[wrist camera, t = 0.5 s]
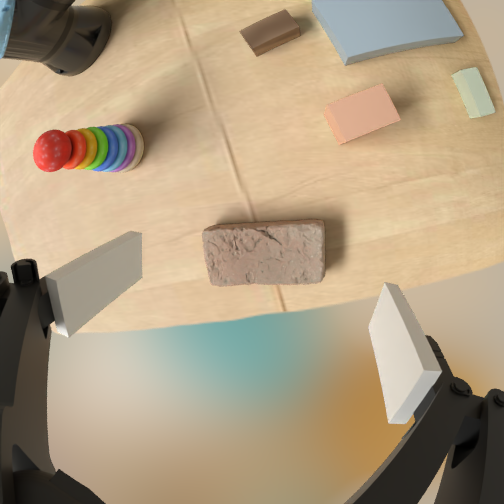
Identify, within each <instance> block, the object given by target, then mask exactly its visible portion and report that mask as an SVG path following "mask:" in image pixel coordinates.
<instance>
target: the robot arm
mask: <svg viewBox="0 0 504 504" xmlns="http://www.w3.org/2000/svg"><path fill="white" fill-rule="evenodd" d="M74 1H75V0H0V59H1V58H5V59H17V60H26V61H34V62H41V63H43V64H44V65H45V66H47V67H48V68H50V69H51V70H53V71H54V72H55V73H57V74H59V75H64V76H74V75H77V74H79V73H81V72H83V71H84V70H86V69H87V68H88V67H89V66H90V65H91V64H92V63H93V62H94V61H95V60H96V59H97V57H98V56H99V55H100V53H101V52H102V50H103V48H104V46H105V44H106V42H107V40H108V37H109V34H110V30H111V18H110V15H109V14H108V12H107V11H105V10H103V9H101V8H99V7H96V6H71V5H72V3H73V2H74ZM11 270H12V274H13V279H14V283H9V281H8V276H7V273H5V272H0V504H105V503H104V502H103V501H102V500H101V499H100V498H99V497H98V496H96V495H95V494H94V493H93V492H92V491H91V490H90V489H89V488H87V487H85V486H84V485H82V484H80V483H79V482H77V481H76V480H74V479H73V478H71V477H70V476H68V475H67V474H65V473H64V472H63V471H61V470H60V469H58V471H57V472H56V471H55V468H54V466H53V464H52V462H51V459H50V455H49V446H48V430H47V376H48V360H49V349H50V339H51V327H50V324H51V323H52V322H54V321H55V324H56V328H57V331H58V332H59V333H61V334H63V335H65V336H66V337H68V338H69V337H70V336H71V335H73V334H74V333H75V332H76V331H77V330H79V329H80V328H81V327H82V326H83V325H85V324H86V323H87V322H88V321H89V320H90V319H92V318H93V317H94V316H95V315H96V314H98V313H99V312H100V311H101V310H103V309H104V308H105V307H106V306H107V305H109V304H110V303H111V302H112V301H114V300H115V299H116V298H117V297H118V296H120V295H121V294H122V293H123V292H125V291H126V290H127V289H128V288H130V287H131V286H132V285H133V284H135V283H136V282H137V281H139V280H140V279H141V278H142V233H139V232H134V231H130V232H127V233H125V234H123V235H121V236H119V237H117V238H115V239H113V240H111V241H109V242H107V243H105V244H103V245H101V246H100V247H98V248H96V249H94V250H92V251H90V252H88V253H86V254H84V255H82V256H80V257H79V258H77V259H75V260H73V261H71V262H69V263H67V264H66V265H64V266H62V267H60V268H58V269H57V270H55V271H53V272H51V273H50V274H48V275H46V276H45V277H43V278H41V279H40V280H39V274H38V269H37V263H36V261H35V260H33V259H22V260H19V261H16V262H15V263H13V264H12V265H11ZM368 328H369V332H370V336H371V340H372V344H373V349H374V353H375V357H376V361H377V366H378V371H379V375H380V380H381V384H382V390H383V395H384V400H385V406H386V411H387V417H388V423H391V424H406V423H407V421H408V420H409V419H410V417H411V416H412V415H413V414H414V418H415V423H414V424H413V426H412V427H411V428H410V429H409V430H408V431H407V433H406V434H405V435H404V436H403V437H402V440H401V441H400V443H399V444H398V445H397V447H396V448H395V449H394V450H393V452H392V453H391V454H390V455H389V457H388V458H387V459H386V460H385V461H384V462H383V464H382V465H381V466H380V467H379V468H378V469H377V471H376V472H375V473H374V474H373V475H372V476H371V477H370V478H369V479H368V480H367V482H365V483H364V485H363V486H362V487H361V488H360V489H359V490H358V491H357V492H356V493H355V494H354V495H353V496H352V497H351V498H350V499H349V500H348V501H346V502H345V504H417V503H418V502H419V500H420V499H421V498H422V496H423V495H424V493H425V492H426V490H427V488H428V487H429V485H430V484H431V482H432V480H433V479H434V477H435V475H436V474H437V472H438V470H439V468H440V466H441V465H442V463H443V461H444V459H445V457H446V455H447V453H448V456H447V460H446V464H445V469H444V472H443V476H442V480H441V483H440V487H439V490H438V493H437V497H436V499H435V502H434V504H504V392H503V391H501V390H499V389H491V390H490V391H489V392H488V394H487V395H486V396H485V398H483V397H480V396H476V395H473V394H472V390H471V387H470V386H469V385H468V383H466V382H465V381H464V380H462V379H460V378H458V377H454V376H453V374H452V372H451V370H450V368H449V366H448V364H447V361H446V359H444V356H443V354H442V352H441V350H440V348H439V346H438V344H437V342H435V340H434V339H433V338H432V337H431V336H426V335H425V334H424V332H423V330H422V329H421V326H420V324H419V323H418V321H417V319H416V317H415V315H414V313H413V311H412V309H411V308H410V306H409V304H408V302H407V300H406V298H405V297H404V295H403V293H402V291H401V290H400V288H399V286H398V285H396V284H391V283H386V282H385V283H384V286H383V288H382V291H381V294H380V297H379V300H378V303H377V306H376V308H375V311H374V314H373V316H372V319H371V321H370V324H369V327H368Z"/></svg>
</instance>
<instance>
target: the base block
mask: <svg viewBox="0 0 504 504" xmlns="http://www.w3.org/2000/svg"><path fill="white" fill-rule="evenodd" d="M312 12H313V13H314V15H315V16H316V18H317V19H318V21H319V23H320V24H321V26H322V27H323V29H324V30H325V32H326V34H327V35H328V37H329V39H330V40H331V42H332V44H333V45H334V47H335V49H336V50H337V52H338V54H339V56H340V58H341V59H342V61H343V63H344V65H349V64H352V63H355V62H359V61H363V60H366V59H370V58H374V57H378V56H382V55H386V54H390V53H395V52H399V51H404V50H409V49H415V48H420V47H426V46H432V45H439V44H446V43H454V42H456V41H457V40H459V39H460V38H461V37H463V36H464V35H463V33H462V31H461V30H460V28H459V26H458V24H457V23H456V21H455V20H454V18H453V16H452V15H451V13H450V12H449V10H448V9H447V7H446V6H445V4H444V3H443V1H442V0H312Z"/></svg>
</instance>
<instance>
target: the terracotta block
mask: <svg viewBox="0 0 504 504" xmlns="http://www.w3.org/2000/svg"><path fill="white" fill-rule="evenodd" d="M324 117H325V118H326V120H327V122H328V124H329V126H330V128H331V130H332V132H333V134H334V136H335V138H336V140H337V142H338V144H339V145H340V144H343V143H345V142H348V141H350V140H352V139H355V138H357V137H360V136H362V135H364V134H367V133H369V132H372V131H374V130H377V129H379V128H382V127H384V126H387V125H390V124H392V123H395V122H397V121H400V120H401V119H400V117H399V115H398V113H397V110H396V108H395V106H394V104H393V102H392V100H391V99H390V97H389V95H388V93H387V91H386V89H385V87H384V85H383V84H379V85H376V86H374V87H371V88H368V89H365V90H363V91H360V92H357V93H355V94H352V95H350V96H347V97H345V98H342V99H340V100H337V101H335V102H332V103H330V104H328V105H327V106H326V110H325V113H324Z"/></svg>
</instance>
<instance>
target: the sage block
mask: <svg viewBox="0 0 504 504" xmlns="http://www.w3.org/2000/svg"><path fill="white" fill-rule="evenodd" d="M451 76H452V78H453V80H454V82H455V84H456V86H457V89H458V91H459V93H460V95H461V98H462V100H463V102H464V105H465V107H466V110H467V112H468V115H469V118H470V119H471V118H477V117H482V116H485V115H489V114H492V113H495V112H496V111H495V109H494V106H493V103H492V101H491V98H490V96H489V93H488V91H487V89H486V86H485V84H484V82H483V80H482V77H481V75H480V73H479V71H478V69H477V67H474V68H469V69H464V70H460V71H458V72H456V73H454V74H452V75H451Z"/></svg>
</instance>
